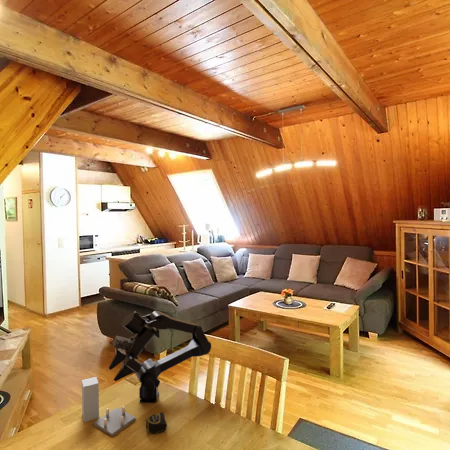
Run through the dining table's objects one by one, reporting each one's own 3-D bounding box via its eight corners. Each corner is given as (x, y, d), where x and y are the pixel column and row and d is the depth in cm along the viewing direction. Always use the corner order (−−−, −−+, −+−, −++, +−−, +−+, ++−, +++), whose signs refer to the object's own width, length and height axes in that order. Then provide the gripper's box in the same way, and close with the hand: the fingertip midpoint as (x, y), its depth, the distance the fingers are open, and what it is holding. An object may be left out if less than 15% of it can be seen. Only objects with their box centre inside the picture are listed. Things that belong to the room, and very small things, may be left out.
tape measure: (167, 433, 110) (167, 422, 110) (146, 437, 108) (146, 426, 107) (164, 420, 116) (164, 410, 116) (145, 424, 114) (145, 414, 114)
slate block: (96, 409, 121) (96, 376, 120) (99, 417, 117) (98, 383, 116) (82, 413, 119) (81, 380, 118) (84, 422, 114) (83, 386, 114)
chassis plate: (117, 409, 121) (116, 400, 121) (135, 419, 116) (135, 410, 116) (93, 425, 113) (93, 415, 113) (112, 436, 108) (112, 426, 107)
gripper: (120, 320, 130) (91, 353, 125) (132, 337, 114) (99, 375, 109) (140, 335, 135) (112, 367, 130) (154, 354, 119) (123, 391, 114)
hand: (111, 374), depth 121 cm, fingers open, 9 cm apart
